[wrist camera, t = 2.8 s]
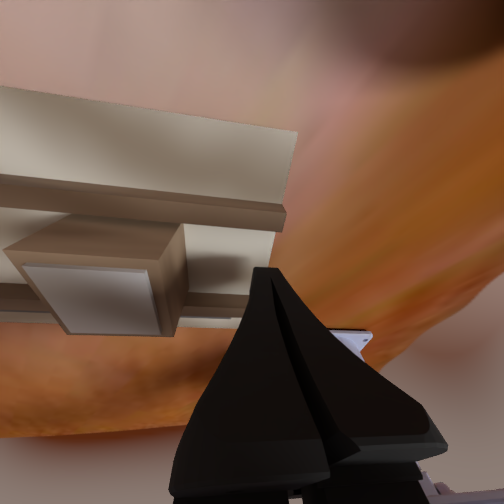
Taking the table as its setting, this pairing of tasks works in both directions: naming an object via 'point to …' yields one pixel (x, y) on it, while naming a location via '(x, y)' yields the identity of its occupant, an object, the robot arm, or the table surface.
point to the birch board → (143, 190)
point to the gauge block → (107, 274)
